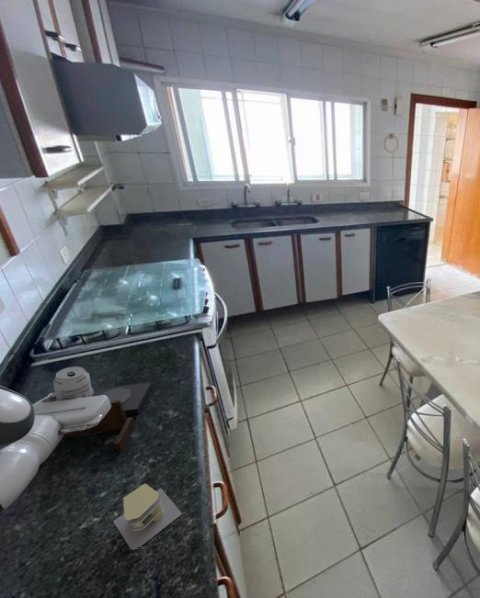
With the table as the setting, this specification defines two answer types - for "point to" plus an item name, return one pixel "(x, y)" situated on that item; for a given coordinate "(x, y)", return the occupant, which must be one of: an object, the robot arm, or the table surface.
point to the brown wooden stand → (111, 425)
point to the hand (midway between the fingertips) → (68, 393)
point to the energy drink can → (72, 384)
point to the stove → (127, 396)
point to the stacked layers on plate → (145, 515)
